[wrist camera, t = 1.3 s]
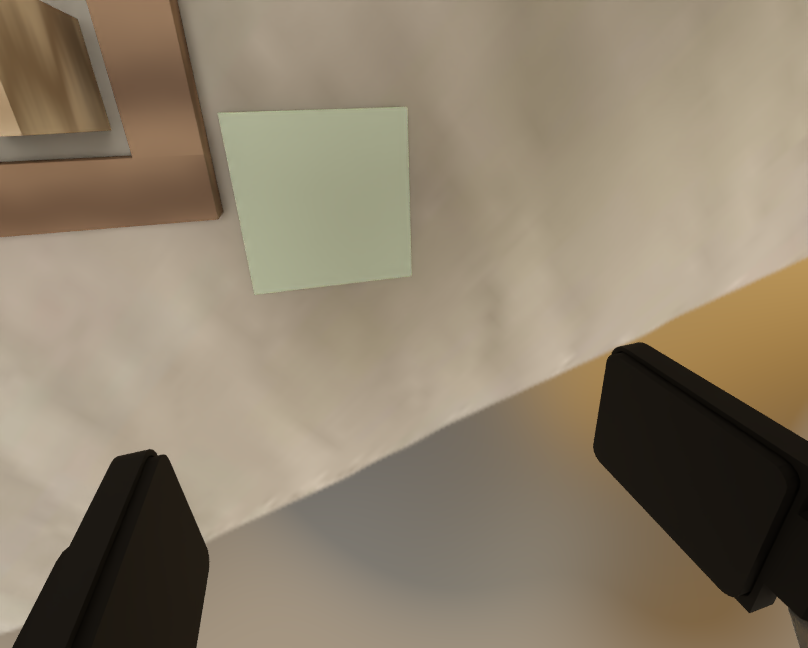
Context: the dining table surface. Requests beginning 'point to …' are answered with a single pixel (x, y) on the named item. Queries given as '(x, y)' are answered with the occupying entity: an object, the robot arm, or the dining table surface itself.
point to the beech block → (45, 73)
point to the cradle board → (146, 134)
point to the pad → (321, 195)
